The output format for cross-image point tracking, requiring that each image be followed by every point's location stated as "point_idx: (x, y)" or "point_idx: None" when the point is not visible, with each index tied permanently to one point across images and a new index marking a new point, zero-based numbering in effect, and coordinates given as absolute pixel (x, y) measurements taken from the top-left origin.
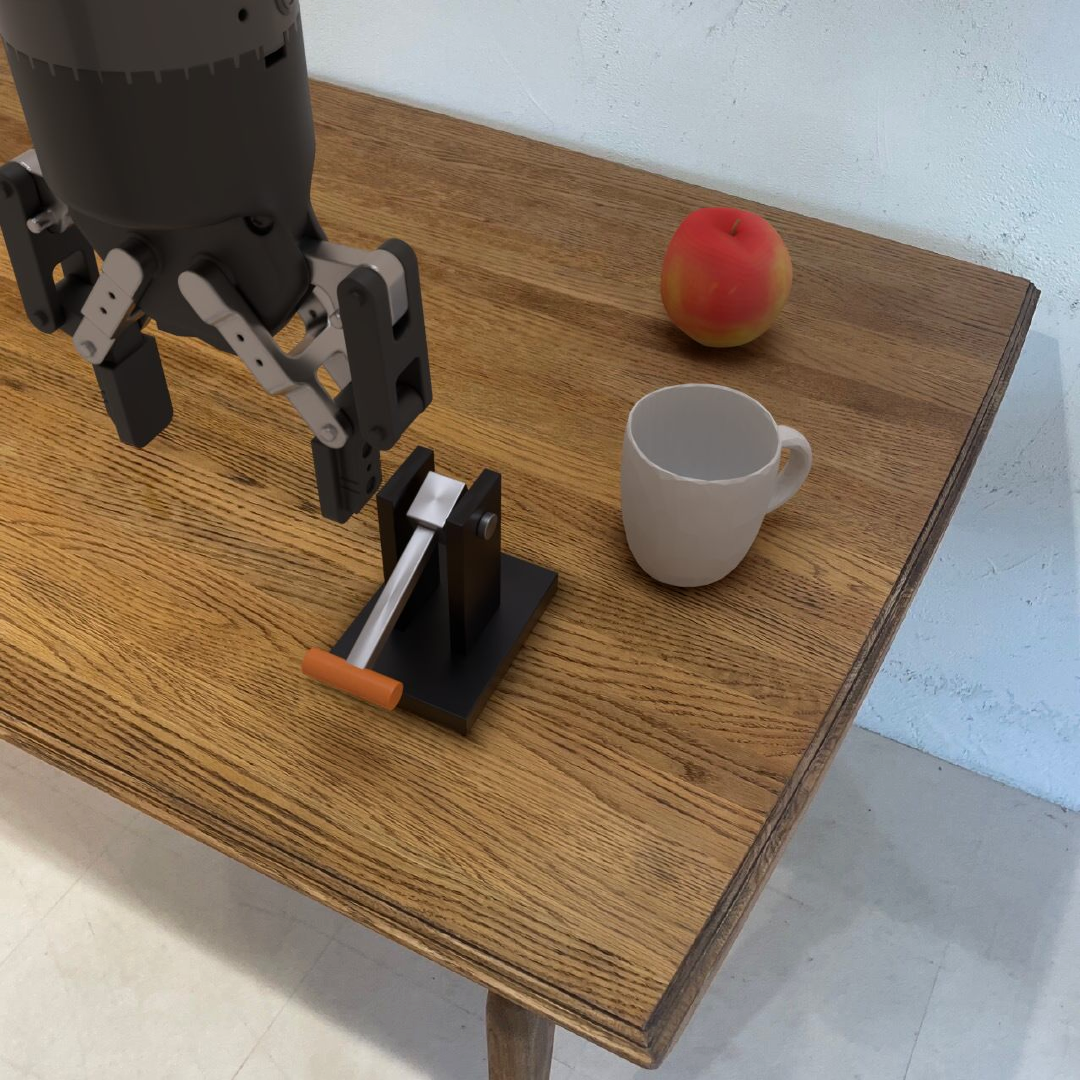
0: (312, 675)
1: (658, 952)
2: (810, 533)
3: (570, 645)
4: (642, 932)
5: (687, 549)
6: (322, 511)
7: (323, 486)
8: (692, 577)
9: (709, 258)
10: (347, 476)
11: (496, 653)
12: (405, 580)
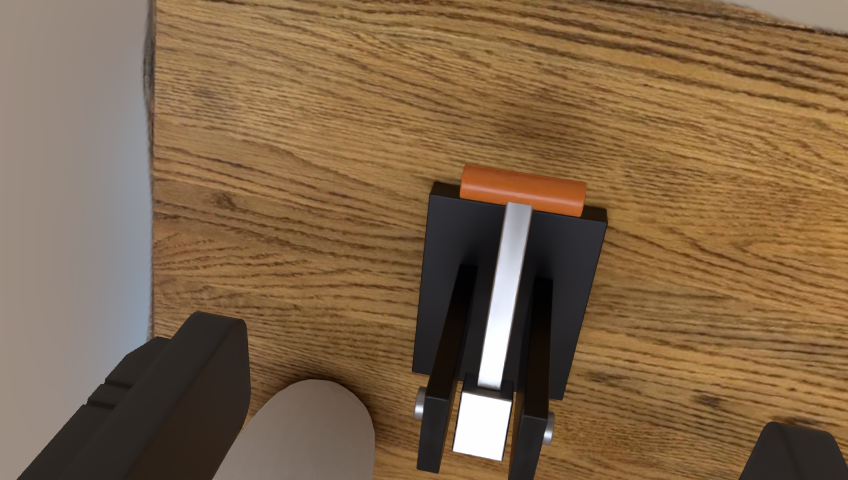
0: (570, 181)
1: (177, 16)
2: None
3: (380, 301)
4: (197, 31)
5: (282, 414)
6: (225, 328)
7: (172, 382)
8: (292, 388)
9: None
10: (104, 416)
11: (431, 273)
12: (492, 319)
